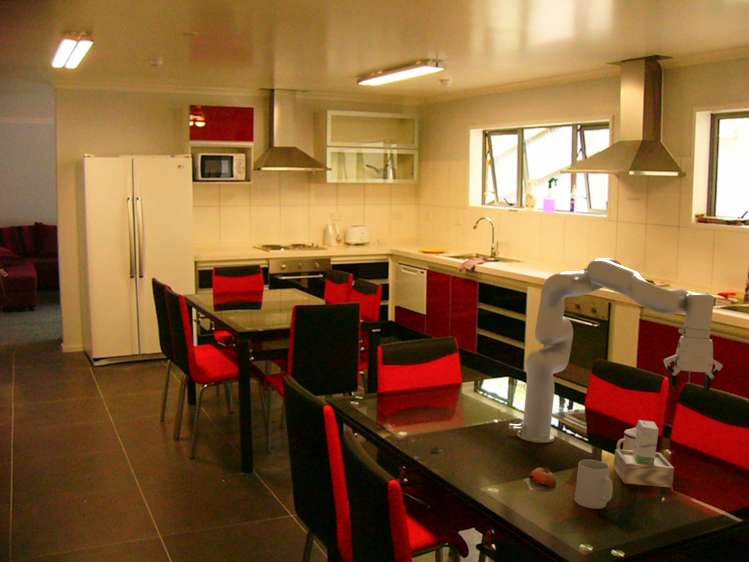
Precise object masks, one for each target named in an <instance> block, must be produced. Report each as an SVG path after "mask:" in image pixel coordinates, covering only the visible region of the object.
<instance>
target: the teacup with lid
mask: <svg viewBox="0 0 749 562" xmlns="http://www.w3.org/2000/svg"><path fill="white" fill-rule="evenodd" d="M636 431H637V425H635V427H632V428H629V429H625V430H624V431H623V435H624V436H623V438H620V439H619V440H618V441H617V443H616V449H621V444H622V443H623V444H622V445H623V446H622V450H632V451H634V445H635V438H636Z"/></svg>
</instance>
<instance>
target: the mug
mask: <svg viewBox="0 0 749 562" xmlns="http://www.w3.org/2000/svg"><path fill="white" fill-rule="evenodd" d="M610 473H611V467H610V465H609V464H608V463H606V462H603V461H600V460H596V459H581V460H580V461H578V466H577V475H576V484H575V493H574V501H575V503H577V505H579V506H581V507H584V508H588V509H593V510H595V509H596V510H598V509H604V508H605V507H606V506H607V503H608V502H610V501H611V499H612V497H613V489H614V487H613V481H612V479H611V478H610Z"/></svg>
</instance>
